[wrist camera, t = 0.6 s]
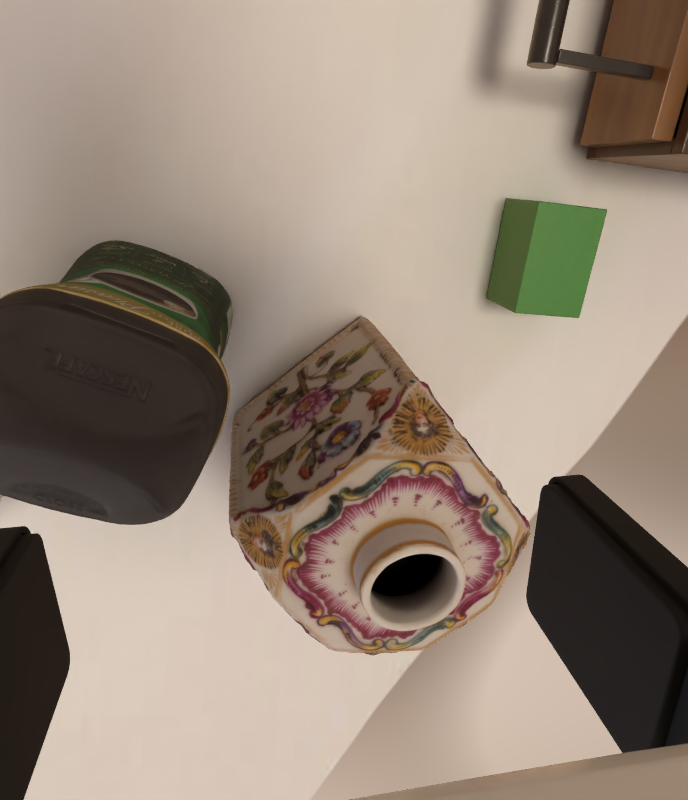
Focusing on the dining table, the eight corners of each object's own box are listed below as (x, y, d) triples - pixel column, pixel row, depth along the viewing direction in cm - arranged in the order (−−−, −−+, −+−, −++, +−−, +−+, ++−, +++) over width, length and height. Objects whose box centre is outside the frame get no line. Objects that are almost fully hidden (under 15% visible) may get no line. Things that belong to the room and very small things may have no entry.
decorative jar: (364, 309, 38) (458, 413, 21) (453, 430, 42) (588, 594, 26) (225, 416, 39) (211, 594, 22) (326, 523, 43) (378, 737, 27)
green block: (505, 198, 36) (539, 201, 32) (567, 205, 37) (607, 209, 33) (485, 298, 39) (514, 312, 35) (544, 303, 40) (579, 318, 35)
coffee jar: (56, 343, 35) (-119, 499, 18) (92, 221, 33) (-68, 270, 16) (206, 394, 38) (177, 572, 21) (249, 285, 36) (255, 384, 19)
